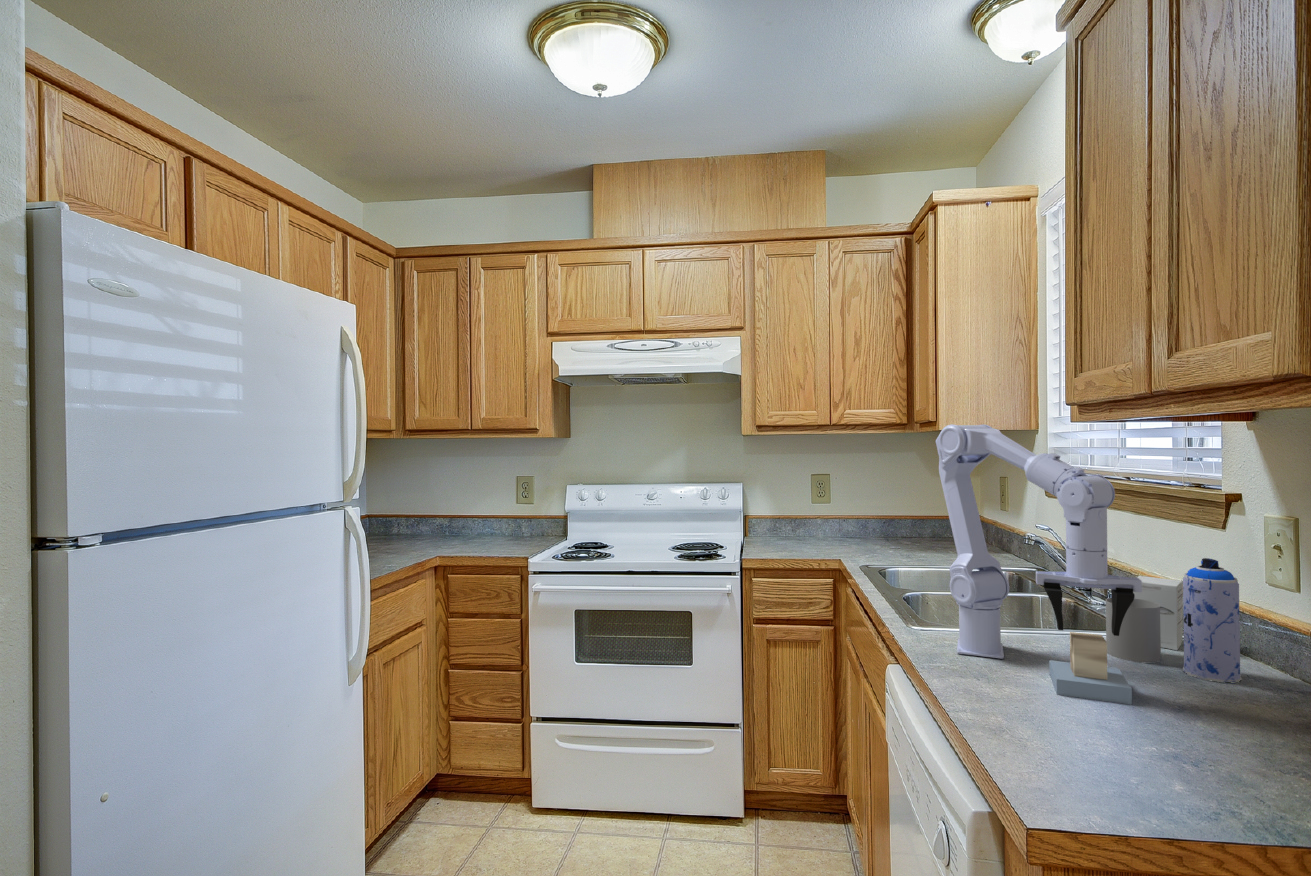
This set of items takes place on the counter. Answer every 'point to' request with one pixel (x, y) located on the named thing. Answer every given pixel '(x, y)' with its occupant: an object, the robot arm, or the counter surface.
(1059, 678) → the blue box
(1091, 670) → the birch block
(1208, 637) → the aerosol can
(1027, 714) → the counter surface
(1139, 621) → the cup
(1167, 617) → the supplement box
